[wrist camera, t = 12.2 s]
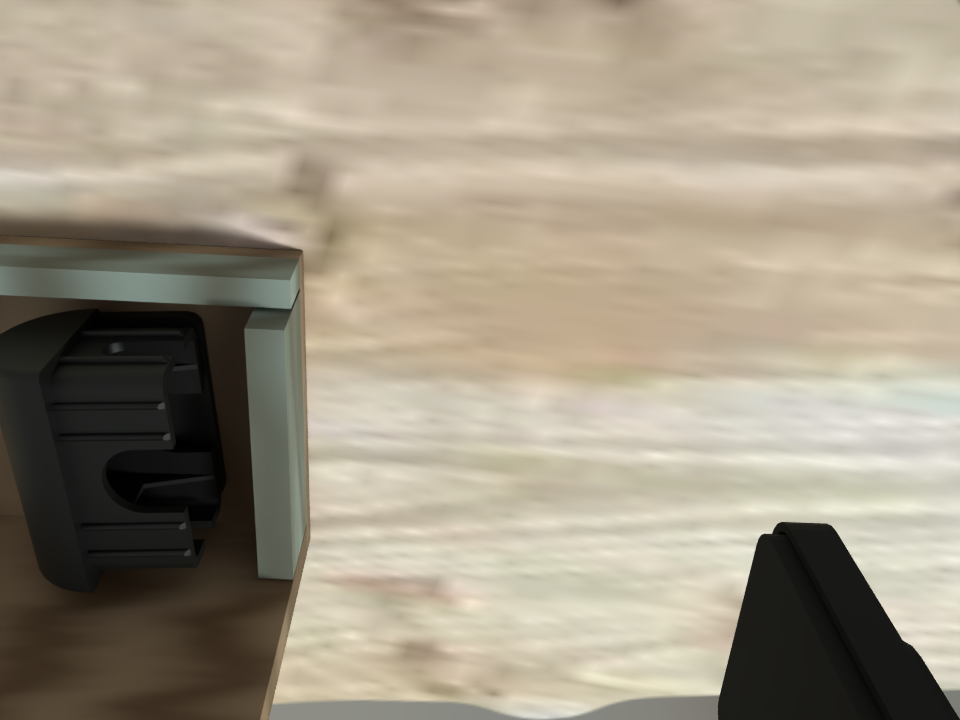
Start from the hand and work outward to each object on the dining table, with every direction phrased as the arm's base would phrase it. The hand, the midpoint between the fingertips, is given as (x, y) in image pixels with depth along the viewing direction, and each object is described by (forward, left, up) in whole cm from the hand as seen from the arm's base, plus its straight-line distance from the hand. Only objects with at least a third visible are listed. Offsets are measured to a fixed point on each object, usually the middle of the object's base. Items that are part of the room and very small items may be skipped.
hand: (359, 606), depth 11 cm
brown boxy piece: (+14, +13, -28) cm, 34 cm away
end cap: (+12, +13, -28) cm, 33 cm away
